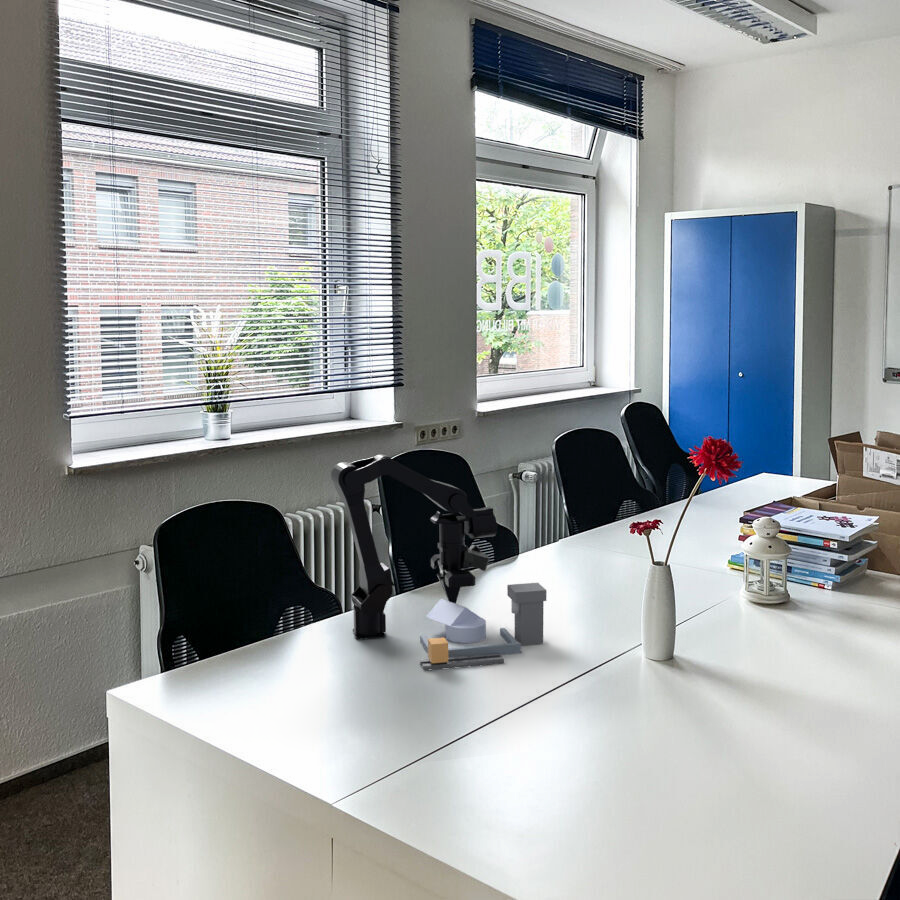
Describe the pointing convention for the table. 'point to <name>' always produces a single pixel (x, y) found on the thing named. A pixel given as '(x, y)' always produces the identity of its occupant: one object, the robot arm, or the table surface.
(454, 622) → the wedge on round base
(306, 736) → the table surface
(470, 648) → the press bed
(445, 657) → the tan wooden cube
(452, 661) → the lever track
